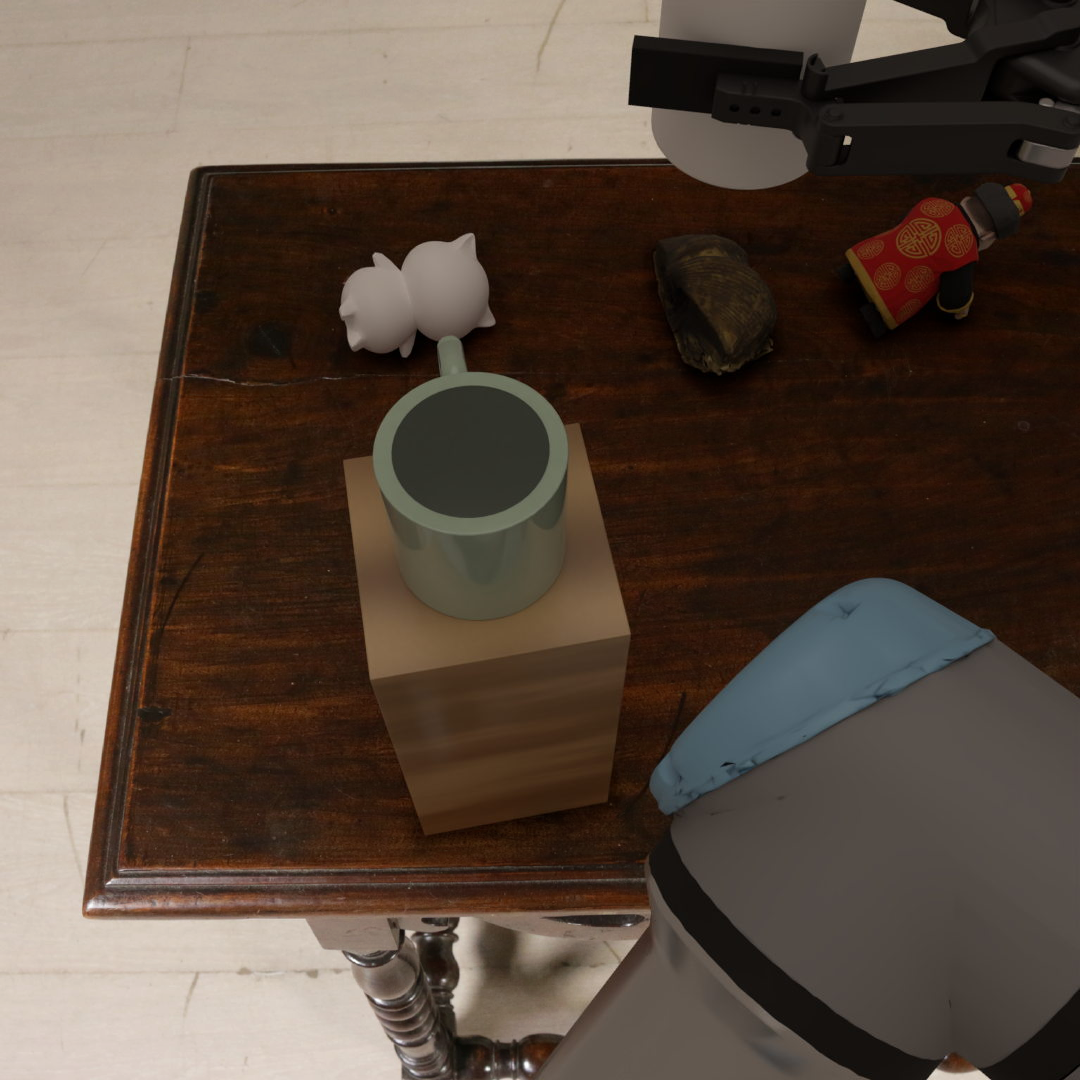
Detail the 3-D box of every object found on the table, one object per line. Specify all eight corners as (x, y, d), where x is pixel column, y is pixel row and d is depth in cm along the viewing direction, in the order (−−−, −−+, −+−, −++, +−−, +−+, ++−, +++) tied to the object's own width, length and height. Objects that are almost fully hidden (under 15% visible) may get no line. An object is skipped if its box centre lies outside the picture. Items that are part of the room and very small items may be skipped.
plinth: (607, 802, 76) (631, 634, 53) (424, 836, 75) (369, 679, 52) (571, 636, 82) (579, 422, 59) (401, 666, 81) (342, 459, 58)
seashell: (623, 253, 99) (647, 188, 93) (719, 251, 101) (748, 188, 96) (681, 404, 90) (710, 343, 85) (783, 398, 93) (818, 338, 87)
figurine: (894, 372, 98) (1066, 275, 93) (873, 331, 89) (1061, 221, 85) (842, 284, 101) (1006, 186, 97) (817, 236, 93) (994, 126, 88)
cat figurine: (329, 280, 85) (484, 234, 87) (316, 248, 95) (456, 208, 96) (363, 388, 90) (511, 343, 91) (348, 348, 99) (482, 308, 100)
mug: (582, 604, 54) (586, 516, 47) (406, 634, 53) (384, 549, 46) (536, 404, 60) (534, 298, 52) (377, 429, 59) (353, 325, 52)
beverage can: (623, 170, 52) (641, -86, 42) (685, 59, 56) (715, -202, 46) (797, 221, 51) (860, -31, 40) (848, 103, 54) (919, -157, 44)
